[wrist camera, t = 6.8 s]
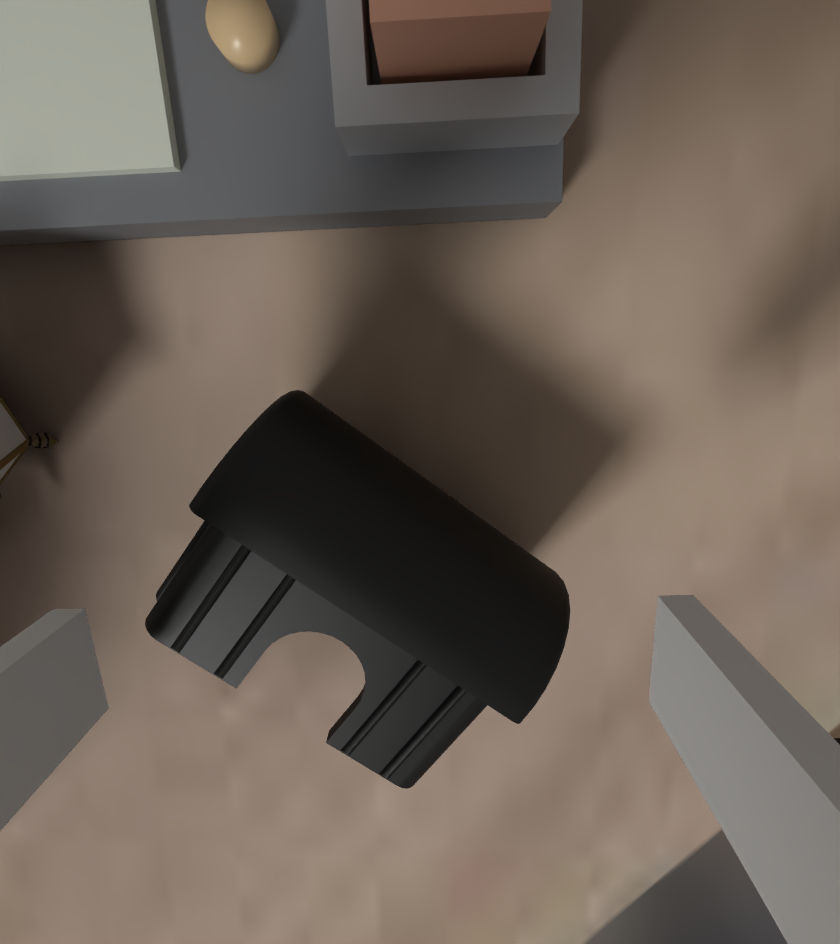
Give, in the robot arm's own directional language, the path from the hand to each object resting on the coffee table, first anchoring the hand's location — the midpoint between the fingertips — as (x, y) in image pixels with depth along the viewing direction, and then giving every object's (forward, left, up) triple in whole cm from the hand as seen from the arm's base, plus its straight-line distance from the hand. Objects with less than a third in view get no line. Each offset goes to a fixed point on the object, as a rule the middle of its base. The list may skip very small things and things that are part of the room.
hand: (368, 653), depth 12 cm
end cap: (0, 0, -8) cm, 8 cm away
